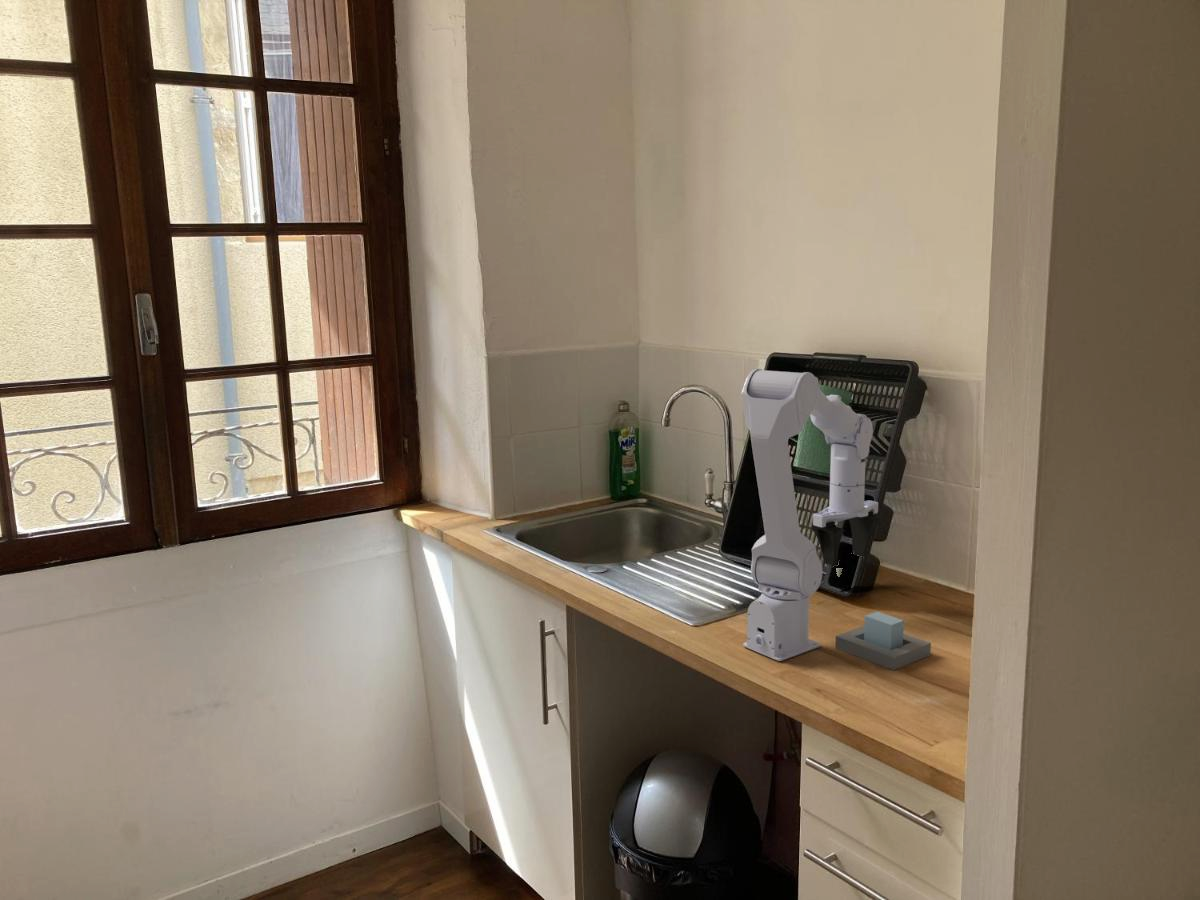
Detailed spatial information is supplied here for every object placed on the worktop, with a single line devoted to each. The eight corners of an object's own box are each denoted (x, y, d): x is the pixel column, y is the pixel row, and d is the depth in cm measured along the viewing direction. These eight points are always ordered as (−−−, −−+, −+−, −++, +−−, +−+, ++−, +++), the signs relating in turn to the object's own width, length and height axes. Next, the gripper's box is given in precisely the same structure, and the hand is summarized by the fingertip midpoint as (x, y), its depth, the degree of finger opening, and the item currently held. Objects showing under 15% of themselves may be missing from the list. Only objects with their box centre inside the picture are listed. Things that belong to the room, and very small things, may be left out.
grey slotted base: (893, 670, 147) (893, 657, 147) (835, 647, 156) (835, 635, 156) (930, 655, 153) (930, 642, 152) (872, 634, 161) (872, 622, 161)
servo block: (890, 656, 151) (891, 625, 150) (863, 646, 155) (864, 615, 154) (902, 651, 153) (903, 620, 152) (876, 641, 157) (877, 611, 156)
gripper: (837, 493, 161) (835, 574, 164) (893, 480, 169) (890, 557, 172) (804, 486, 167) (802, 563, 169) (860, 473, 175) (858, 547, 178)
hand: (844, 559), depth 171 cm, fingers open, 7 cm apart
